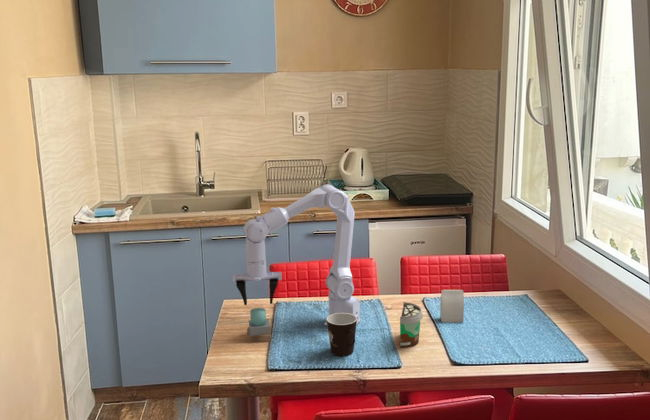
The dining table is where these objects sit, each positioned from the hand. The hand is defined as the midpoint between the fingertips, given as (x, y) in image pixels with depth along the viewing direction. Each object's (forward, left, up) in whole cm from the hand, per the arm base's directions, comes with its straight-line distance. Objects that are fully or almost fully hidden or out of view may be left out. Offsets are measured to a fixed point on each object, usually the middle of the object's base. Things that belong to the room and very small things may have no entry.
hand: (258, 303), depth 194 cm
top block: (-1, +1, -8) cm, 9 cm away
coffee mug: (-28, +2, -11) cm, 30 cm away
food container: (-44, -13, -11) cm, 47 cm away
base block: (0, +2, -11) cm, 11 cm away
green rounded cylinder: (0, +1, -6) cm, 6 cm away
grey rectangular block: (-51, -33, -11) cm, 62 cm away
